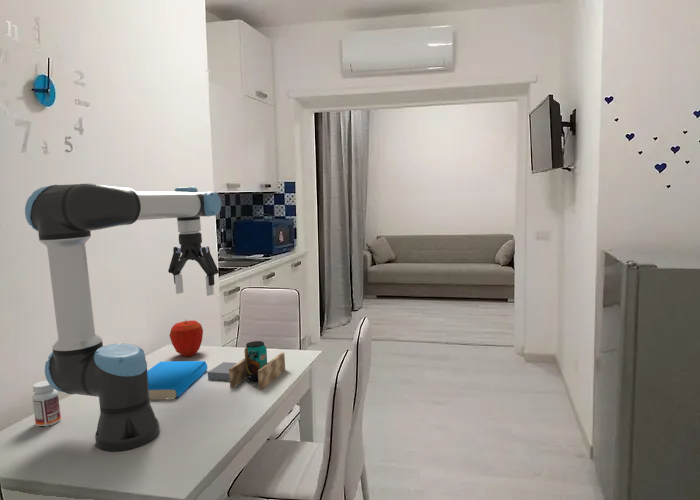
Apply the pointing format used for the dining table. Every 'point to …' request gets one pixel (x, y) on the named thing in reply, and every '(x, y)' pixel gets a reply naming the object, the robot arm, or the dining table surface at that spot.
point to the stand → (221, 371)
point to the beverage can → (255, 359)
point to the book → (173, 377)
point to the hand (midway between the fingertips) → (194, 294)
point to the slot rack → (264, 374)
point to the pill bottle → (45, 404)
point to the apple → (186, 337)
